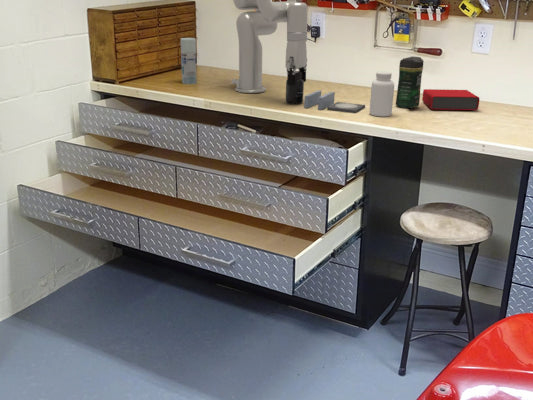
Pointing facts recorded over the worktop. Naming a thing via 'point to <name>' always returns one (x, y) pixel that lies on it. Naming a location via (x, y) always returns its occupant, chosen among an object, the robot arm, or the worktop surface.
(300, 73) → the supplement bottle
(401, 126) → the worktop surface
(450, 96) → the red device housing
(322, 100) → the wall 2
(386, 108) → the pill bottle
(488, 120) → the worktop surface
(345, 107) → the mat
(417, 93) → the coffee jar
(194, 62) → the tall grey product box
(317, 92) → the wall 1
